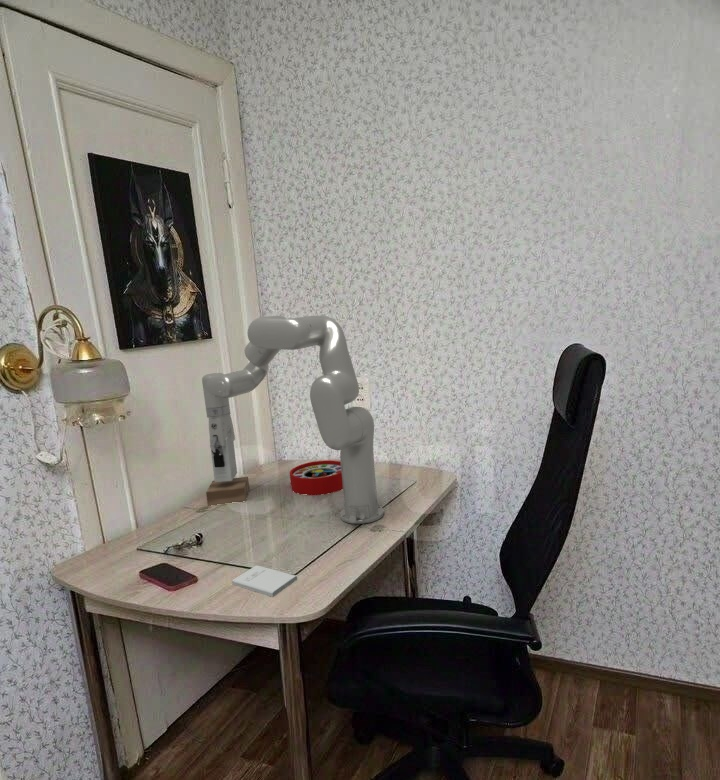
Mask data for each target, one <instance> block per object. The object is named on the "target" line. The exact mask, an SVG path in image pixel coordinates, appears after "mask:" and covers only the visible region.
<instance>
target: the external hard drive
mask: <svg viewBox="0 0 720 780" xmlns="http://www.w3.org/2000/svg"><path fill="white" fill-rule="evenodd" d="M297 580H298V576H297V575H295V574H291V573H287V572H283V571H279V570H277V569H272V568H269V567H265V566H261V565H257V564H256V565H254V566H253V567H251V568H250V569H248V570H246V571H245V572H243V573H241V574H240V575H238V576H237V577H235V578H234V579H232V581H231V583H232V585H233V586H237V587H240V588H244V589H246V590H250V591H253V592H254V593H255V592H256V593H260V594H262V595H265V596H269V597H272V598H274V597H275V596H276V595H277V594H279V593H281V592H282V591H283V590H284V589H286V588H287V587H288V586H290V585H292V584H293V583H295V581H297Z"/></svg>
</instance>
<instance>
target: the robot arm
mask: <svg viewBox="0 0 720 780" xmlns="http://www.w3.org/2000/svg"><path fill="white" fill-rule="evenodd" d="M247 339H248V343H247V344H246V345H245V348H244V356H245V357H246V360H248V361H249V362H248V363H247V365H246V366H245V367H244V368H243V369H242V370H238V371H232V372H229V373H222V372H213V373H208V374H205V375H203V376H202V378H201V382H202V391H203V397H204V406H205V412H206V418H208V431H209V432H208V433H209V447H210V452H211V451H212V455H213V458H214V465H215V467H224V466H225V464H224V456H223V455H222V446H223V447H226V441H225V438H226V437H230V438H229V440H230V443H232V442H233V441H235V440H236V437H235V436H236V435H235V430H234V425H233V419H232V415H231V407H230V398H234V397H237V396H241V395H243V394H244V395H245V394H247V393H251V392H252V391H253V390H255V389H256V388H257V387H258V386H259V385H260V384H261V382H262V381H264V379H265V378H266V376H267V374H268V371H269V364H270V363H271V362H272V360H273V359H274V358H275V357H276V356H277V355H278V353H279V352H280V351H281V350H287V351H288V350H289V351H293V350H301V349H305V348H310V347H311V348H312V347H315V346H316V347H317V346H318V347H319V355H318V356H319V357H318V358H319V364H320V366H321V370H322V374H323V375H320V376H318V377H317V378H316V379H314V381H313V382H312V384H311V386H310V389H309V400H310V403H311V407H312V410H313V414H314V417H315V420H316V424H317V427H318V431H319V434H320V436H321V439H322V441H323V443H324V444H325V445H326V446H327V447H328V448H330V449H331V450H335V451H340V452H339V460H340V462H341V474H342V484H343V489H342V493H343V503H344V508H343V509H342V510H341V511H340V513H339V518H340V520H341V521H343V522H345V523H346V524H347V523H348V524H353V525H354V524H356V525H359V524H360V525H361V524H362V525H363V524H368V523H373V522H376V521H378V520H380V519H381V518H382V517H384V515H385V514H384V513H385V510H384V508H383V507H382V506H381V505H378V494H377V493H378V492H377V483H376V482H377V481H376V471H375V456H374V438H375V437H374V435H375V422H374V419H373V416H372V414H371V413H370V412H369V411H368V409H366V408H364V407H361V406H352V407H348V408H346V407H345V405H347V404H350V403H352V402H353V401H355V400H356V399H357V398H358V396H359V393H360V386H359V383H358V379H357V375H356V373H355V372H356V371H355V369H354V365H353V362H352V358H351V355H350V353H349V348H348V344H347V339H346V336H345V333H344V330H343V328H342V326H341V324H339V322H337V321H336V320H335V319H333V318H331V317H329V316H325V315H307V316H299V317H292V318H291V317H290V318H287V317H284V316H282V315H270V316H262V317H261V316H260V317H257V318H255V319H253V320H252V321H251V322H250V324H249V325H248V328H247ZM217 440H218V442H219V443H220V445H218V446H216V443H217ZM210 442H211V444H210ZM216 448H220V449H219V450H218V449H216ZM212 455H211V456H212Z"/></svg>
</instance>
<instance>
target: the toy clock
mask: <svg viewBox="0 0 720 780" xmlns="http://www.w3.org/2000/svg"><path fill="white" fill-rule="evenodd" d="M289 478H290V480H289V481H290V489H291V491H292V492H293V491H294V492H293V493H295V494H297V493H299V494H298V495H301V494H307V495H306V496H322V495H321V494H324V495H329V494H328V493H330V494H333V492H334V493H336V492H339V491H343V484H342V474H341V462H340V461H339V460H331V459H330V460H329V459H328V460H316V461H309V462H306V463H302V464H300V465H299V464H298V465H297V466H294V467H293V468H292V469H290V471H289Z"/></svg>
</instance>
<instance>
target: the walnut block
mask: <svg viewBox="0 0 720 780" xmlns="http://www.w3.org/2000/svg"><path fill="white" fill-rule="evenodd" d="M249 489H250V483H249V476H243V477H234V478H233V480H232V481H224V482H215V480H212V481H211V482H210V484H209V487H208V488H207V490H206V492H205V494H206V501H207V502H206V503H207V507H212V506H211V505H215V506H218V505H217V504H224V505H226V504H225V503H232V502H242V503H244V502H243V501H246V502H247V499H246V498H248V496H249V493H250V490H249ZM248 492H249V493H248ZM247 495H248V496H247Z"/></svg>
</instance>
